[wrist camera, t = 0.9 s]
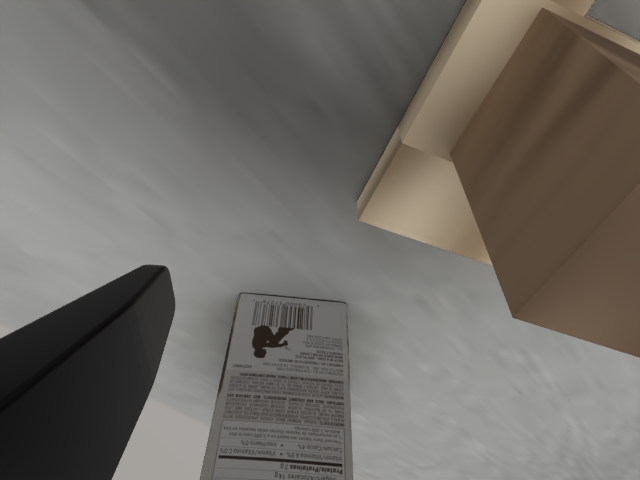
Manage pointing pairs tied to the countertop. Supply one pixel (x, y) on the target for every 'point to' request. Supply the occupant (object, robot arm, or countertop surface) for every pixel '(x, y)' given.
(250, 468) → the coffee box
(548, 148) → the walnut block
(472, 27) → the trap lane
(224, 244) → the countertop surface
